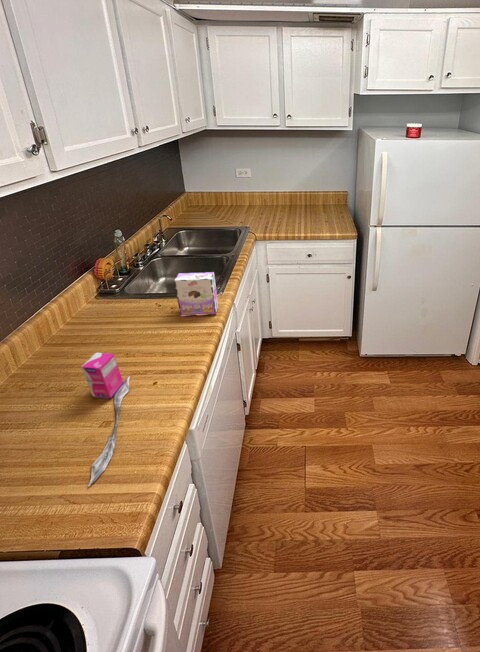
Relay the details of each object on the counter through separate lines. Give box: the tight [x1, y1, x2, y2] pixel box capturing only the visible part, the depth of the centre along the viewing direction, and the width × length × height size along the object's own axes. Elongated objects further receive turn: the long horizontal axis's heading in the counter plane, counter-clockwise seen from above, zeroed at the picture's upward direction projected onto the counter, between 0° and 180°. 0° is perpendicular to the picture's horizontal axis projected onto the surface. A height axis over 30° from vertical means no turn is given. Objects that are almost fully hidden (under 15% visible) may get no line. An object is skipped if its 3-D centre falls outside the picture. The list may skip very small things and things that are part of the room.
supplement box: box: [80, 352, 124, 400], centre depth 93 cm, size 6×6×12 cm
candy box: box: [173, 271, 219, 318], centre depth 128 cm, size 14×6×16 cm, turn 94°
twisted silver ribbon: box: [87, 374, 131, 488], centre depth 86 cm, size 32×1×5 cm
